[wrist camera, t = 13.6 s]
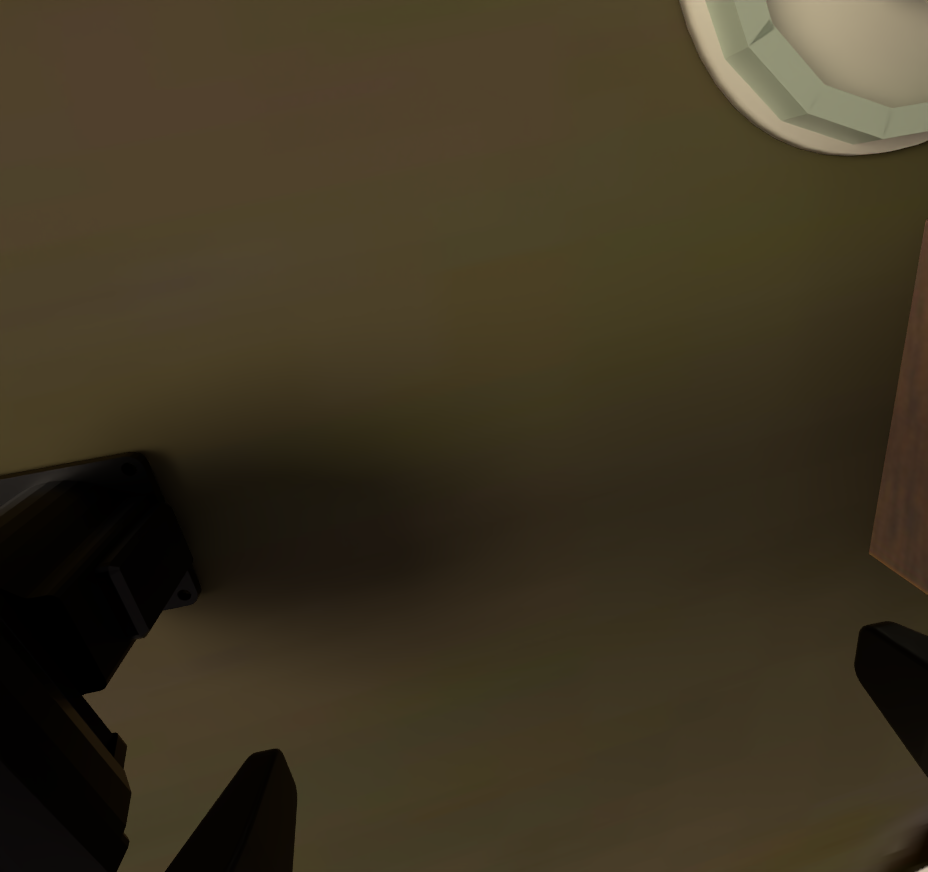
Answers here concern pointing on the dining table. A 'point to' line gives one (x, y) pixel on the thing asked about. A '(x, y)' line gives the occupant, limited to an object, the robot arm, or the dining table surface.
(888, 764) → the dining table surface
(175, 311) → the dining table surface
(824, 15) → the round tray
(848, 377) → the dining table surface
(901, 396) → the tissue box cover
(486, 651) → the dining table surface
